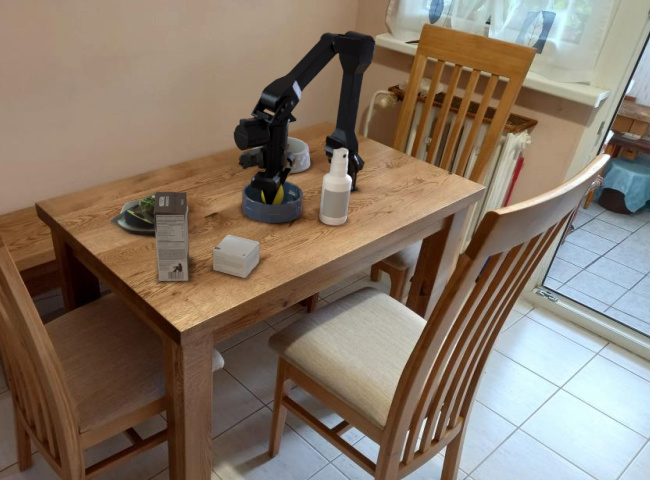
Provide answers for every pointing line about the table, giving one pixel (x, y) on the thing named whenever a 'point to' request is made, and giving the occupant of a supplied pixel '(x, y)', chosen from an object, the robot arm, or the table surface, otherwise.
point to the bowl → (272, 213)
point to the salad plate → (138, 217)
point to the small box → (236, 256)
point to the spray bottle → (336, 190)
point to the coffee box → (172, 235)
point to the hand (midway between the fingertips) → (272, 201)
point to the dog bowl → (298, 155)
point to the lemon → (278, 197)
